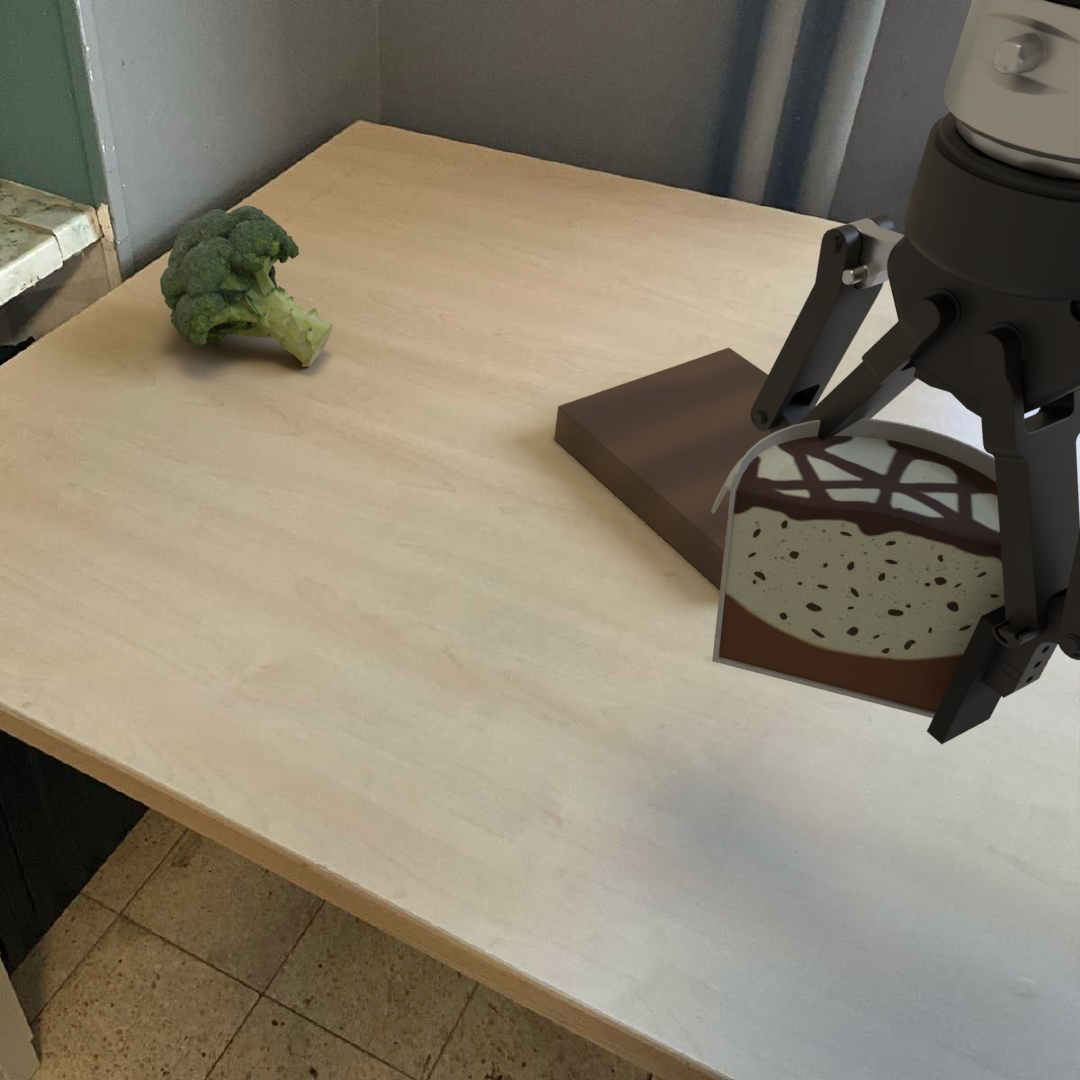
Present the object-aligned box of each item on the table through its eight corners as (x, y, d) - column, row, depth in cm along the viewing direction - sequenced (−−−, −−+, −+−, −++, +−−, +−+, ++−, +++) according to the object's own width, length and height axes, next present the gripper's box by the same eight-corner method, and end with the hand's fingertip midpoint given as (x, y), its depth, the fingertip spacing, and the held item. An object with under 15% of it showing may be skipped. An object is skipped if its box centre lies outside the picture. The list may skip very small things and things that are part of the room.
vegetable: (262, 399, 87) (109, 276, 87) (283, 421, 99) (150, 313, 100) (364, 272, 86) (210, 150, 87) (372, 310, 99) (238, 203, 100)
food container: (984, 629, 51) (1072, 447, 44) (984, 731, 47) (1082, 547, 40) (700, 562, 55) (743, 384, 48) (677, 652, 50) (720, 470, 44)
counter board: (921, 525, 78) (935, 491, 76) (738, 606, 73) (747, 572, 71) (721, 379, 91) (729, 346, 89) (553, 439, 86) (557, 405, 84)
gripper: (727, 47, 41) (637, 531, 56) (1377, 327, 26) (1021, 880, 41) (882, 11, 43) (757, 484, 58) (1554, 248, 29) (1158, 796, 44)
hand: (866, 648), depth 50 cm, fingers closed on food container, 9 cm apart
